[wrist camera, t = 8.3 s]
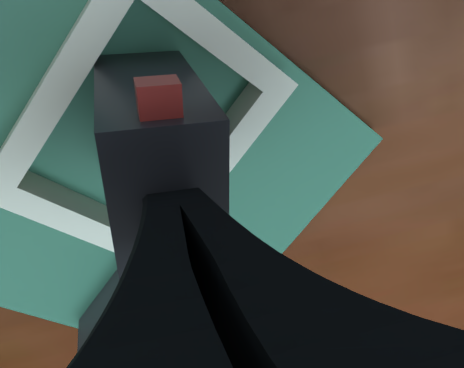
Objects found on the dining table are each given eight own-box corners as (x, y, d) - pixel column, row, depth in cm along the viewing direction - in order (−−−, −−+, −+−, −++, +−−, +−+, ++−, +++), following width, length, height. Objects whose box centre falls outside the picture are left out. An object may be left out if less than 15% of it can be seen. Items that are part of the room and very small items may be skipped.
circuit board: (371, 130, 21) (415, 162, 18) (185, 345, 25) (197, 399, 22) (-83, -250, 11) (-146, -316, 8) (-270, 209, 15) (-358, 275, 12)
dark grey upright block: (177, 27, 15) (229, 86, 9) (185, 176, 18) (228, 289, 12) (90, 31, 14) (87, 97, 9) (114, 185, 18) (124, 310, 12)
